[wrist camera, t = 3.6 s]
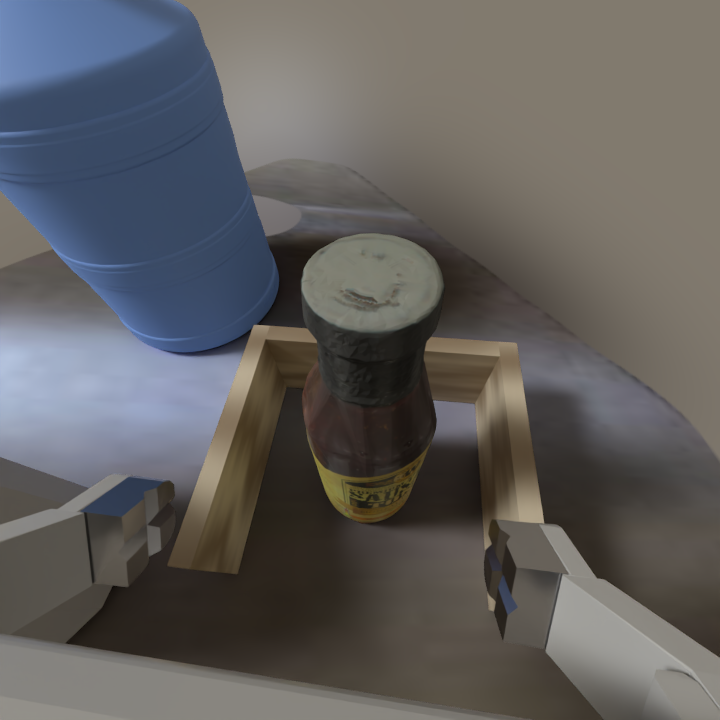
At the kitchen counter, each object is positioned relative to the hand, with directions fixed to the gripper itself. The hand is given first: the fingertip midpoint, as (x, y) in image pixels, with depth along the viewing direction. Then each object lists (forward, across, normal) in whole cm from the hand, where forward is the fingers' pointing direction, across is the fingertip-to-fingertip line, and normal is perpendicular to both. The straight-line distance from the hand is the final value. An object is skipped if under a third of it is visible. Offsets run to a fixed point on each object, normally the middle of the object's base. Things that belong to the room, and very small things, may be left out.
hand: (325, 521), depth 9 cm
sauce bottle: (+16, -1, +8) cm, 18 cm away
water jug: (+28, +18, -4) cm, 34 cm away
